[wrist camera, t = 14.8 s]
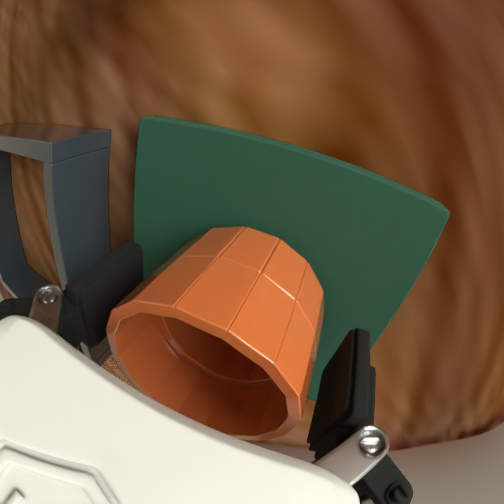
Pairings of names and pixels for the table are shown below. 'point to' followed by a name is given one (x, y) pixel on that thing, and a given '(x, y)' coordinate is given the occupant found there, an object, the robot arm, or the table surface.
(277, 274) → the orange cup
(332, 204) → the mat
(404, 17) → the table surface
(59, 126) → the dark grey square frame
